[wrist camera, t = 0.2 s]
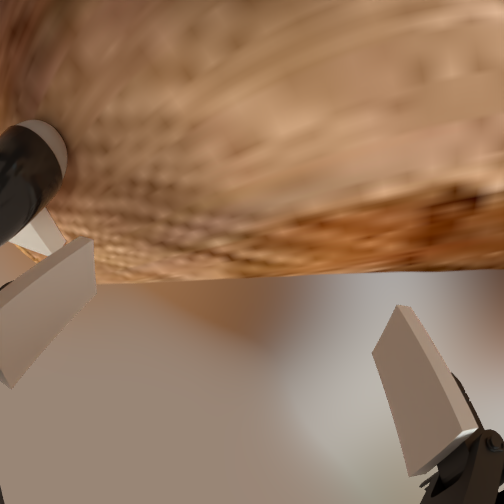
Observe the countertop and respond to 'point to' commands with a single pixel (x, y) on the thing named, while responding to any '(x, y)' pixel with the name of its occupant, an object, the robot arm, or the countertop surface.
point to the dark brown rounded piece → (28, 173)
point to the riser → (40, 235)
